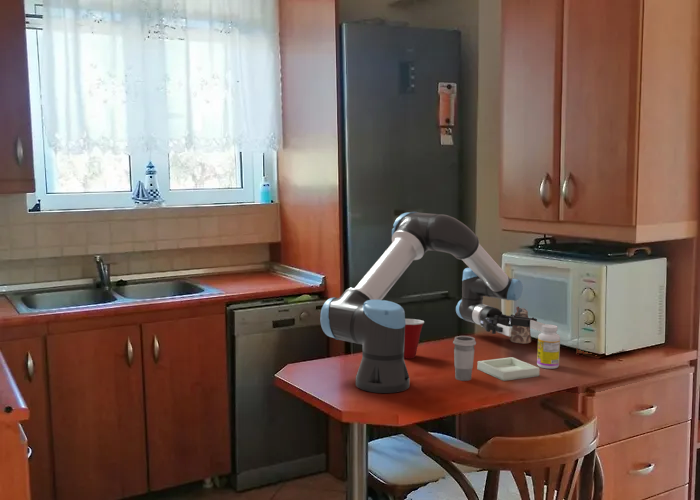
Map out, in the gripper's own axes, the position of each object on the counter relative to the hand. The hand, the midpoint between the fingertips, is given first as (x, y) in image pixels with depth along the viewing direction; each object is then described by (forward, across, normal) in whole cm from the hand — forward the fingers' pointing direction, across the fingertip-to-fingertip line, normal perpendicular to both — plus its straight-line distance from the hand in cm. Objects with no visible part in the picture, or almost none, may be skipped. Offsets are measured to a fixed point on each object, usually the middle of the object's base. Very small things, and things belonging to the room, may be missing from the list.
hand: (527, 330), depth 242 cm
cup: (+12, +32, -9) cm, 36 cm away
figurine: (-19, -13, -10) cm, 25 cm away
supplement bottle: (+11, 0, -9) cm, 14 cm away
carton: (+4, -28, -10) cm, 30 cm away
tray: (+12, +16, -9) cm, 22 cm away
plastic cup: (-16, +35, -9) cm, 40 cm away
